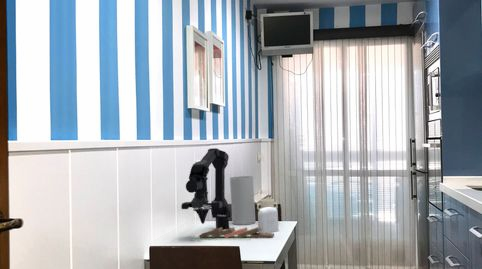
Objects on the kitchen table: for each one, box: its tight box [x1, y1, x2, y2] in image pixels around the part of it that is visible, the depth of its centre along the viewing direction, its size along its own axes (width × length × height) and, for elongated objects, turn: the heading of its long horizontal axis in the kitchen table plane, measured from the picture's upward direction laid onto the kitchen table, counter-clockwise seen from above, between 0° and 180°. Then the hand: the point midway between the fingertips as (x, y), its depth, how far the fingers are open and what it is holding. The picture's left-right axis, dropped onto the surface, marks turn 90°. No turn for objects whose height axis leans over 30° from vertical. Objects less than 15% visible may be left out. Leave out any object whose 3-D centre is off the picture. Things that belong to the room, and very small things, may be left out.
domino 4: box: [250, 232, 275, 239], centre depth 231 cm, size 2×5×10 cm
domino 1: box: [198, 227, 223, 238], centre depth 237 cm, size 2×5×10 cm
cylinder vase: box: [229, 175, 256, 226], centre depth 275 cm, size 12×12×25 cm
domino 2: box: [211, 226, 236, 238], centre depth 235 cm, size 2×5×10 cm
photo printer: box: [257, 206, 279, 233], centre depth 243 cm, size 10×4×12 cm, turn 123°
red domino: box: [224, 226, 248, 238], centre depth 234 cm, size 2×5×10 cm
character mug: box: [256, 198, 279, 211], centre depth 267 cm, size 11×7×13 cm, turn 95°
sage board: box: [191, 235, 253, 241], centre depth 235 cm, size 28×13×1 cm, turn 76°
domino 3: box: [238, 227, 261, 238], centre depth 232 cm, size 2×5×10 cm
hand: (202, 223), depth 238 cm, fingers closed
